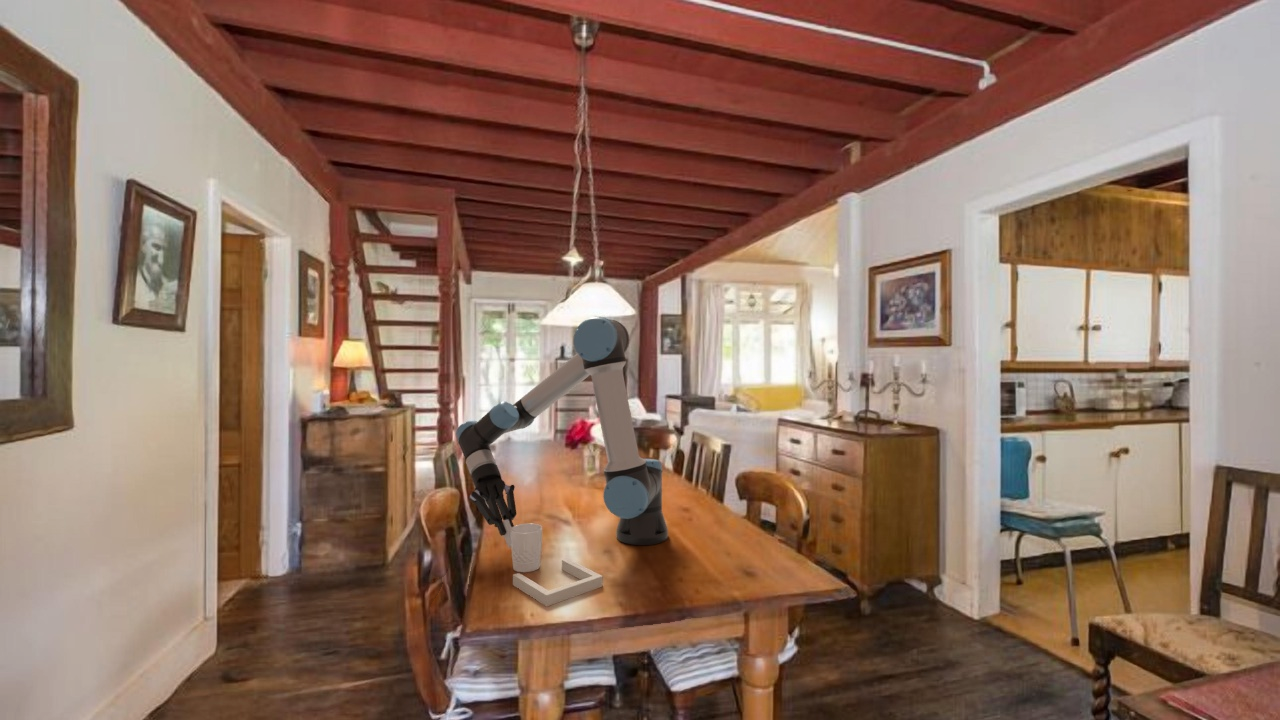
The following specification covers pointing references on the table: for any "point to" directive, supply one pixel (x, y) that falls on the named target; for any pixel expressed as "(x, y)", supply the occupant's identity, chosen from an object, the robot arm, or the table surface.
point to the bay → (547, 598)
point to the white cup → (526, 547)
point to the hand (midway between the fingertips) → (512, 544)
